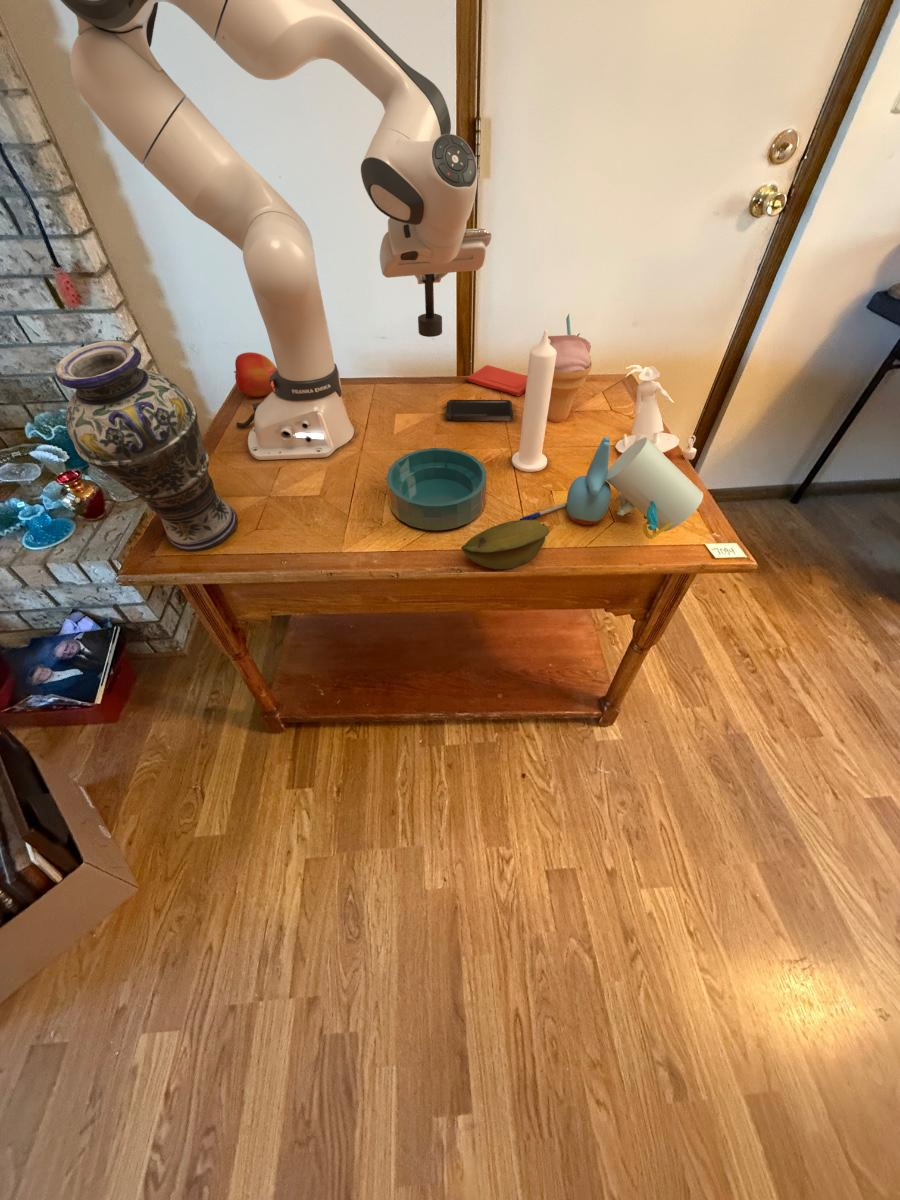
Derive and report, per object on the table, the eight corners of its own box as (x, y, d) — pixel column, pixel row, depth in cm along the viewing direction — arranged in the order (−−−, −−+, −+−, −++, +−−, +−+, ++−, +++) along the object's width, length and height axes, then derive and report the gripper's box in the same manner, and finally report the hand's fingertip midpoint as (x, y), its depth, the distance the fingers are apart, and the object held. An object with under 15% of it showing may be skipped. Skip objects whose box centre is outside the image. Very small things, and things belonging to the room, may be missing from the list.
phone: (447, 399, 115) (511, 399, 115) (447, 404, 116) (511, 404, 116) (446, 416, 110) (513, 416, 110) (446, 421, 111) (512, 421, 111)
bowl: (399, 541, 84) (396, 513, 80) (383, 482, 96) (379, 455, 91) (497, 524, 87) (499, 496, 83) (470, 469, 99) (470, 442, 94)
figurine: (692, 447, 104) (701, 345, 93) (700, 472, 95) (710, 361, 84) (615, 455, 109) (614, 358, 98) (614, 478, 100) (614, 375, 89)
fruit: (531, 588, 77) (535, 557, 72) (460, 569, 80) (458, 539, 75) (550, 541, 84) (554, 510, 79) (483, 526, 87) (483, 496, 82)
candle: (517, 474, 97) (532, 340, 78) (507, 455, 102) (519, 324, 83) (551, 469, 98) (574, 336, 79) (540, 451, 103) (558, 320, 84)
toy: (629, 429, 80) (602, 505, 91) (585, 422, 81) (564, 498, 92) (630, 460, 73) (601, 539, 84) (582, 452, 74) (560, 531, 85)
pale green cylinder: (580, 515, 80) (638, 568, 82) (636, 472, 71) (699, 532, 73) (605, 457, 93) (654, 505, 95) (655, 414, 84) (708, 467, 86)
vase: (171, 580, 80) (38, 417, 55) (139, 520, 88) (10, 356, 64) (265, 532, 85) (181, 364, 61) (227, 480, 93) (139, 314, 69)
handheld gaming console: (537, 383, 123) (487, 368, 129) (537, 378, 122) (487, 364, 128) (518, 397, 118) (467, 381, 124) (518, 392, 117) (467, 377, 123)
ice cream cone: (524, 410, 114) (534, 315, 99) (567, 402, 116) (583, 309, 101) (545, 433, 107) (559, 335, 92) (589, 425, 109) (610, 328, 94)
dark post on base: (421, 338, 106) (417, 236, 93) (416, 329, 110) (411, 230, 96) (444, 335, 107) (443, 234, 94) (439, 326, 110) (437, 228, 97)
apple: (282, 353, 114) (236, 346, 109) (284, 397, 117) (239, 392, 112) (272, 358, 122) (228, 351, 117) (274, 399, 125) (231, 395, 120)
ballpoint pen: (518, 517, 87) (518, 522, 88) (520, 519, 86) (520, 524, 87) (567, 501, 90) (567, 506, 91) (570, 503, 89) (570, 508, 90)
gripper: (491, 211, 89) (473, 260, 103) (379, 218, 86) (376, 267, 99) (497, 247, 90) (479, 291, 103) (386, 255, 86) (382, 299, 100)
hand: (428, 279), depth 101 cm, fingers closed on dark post on base
